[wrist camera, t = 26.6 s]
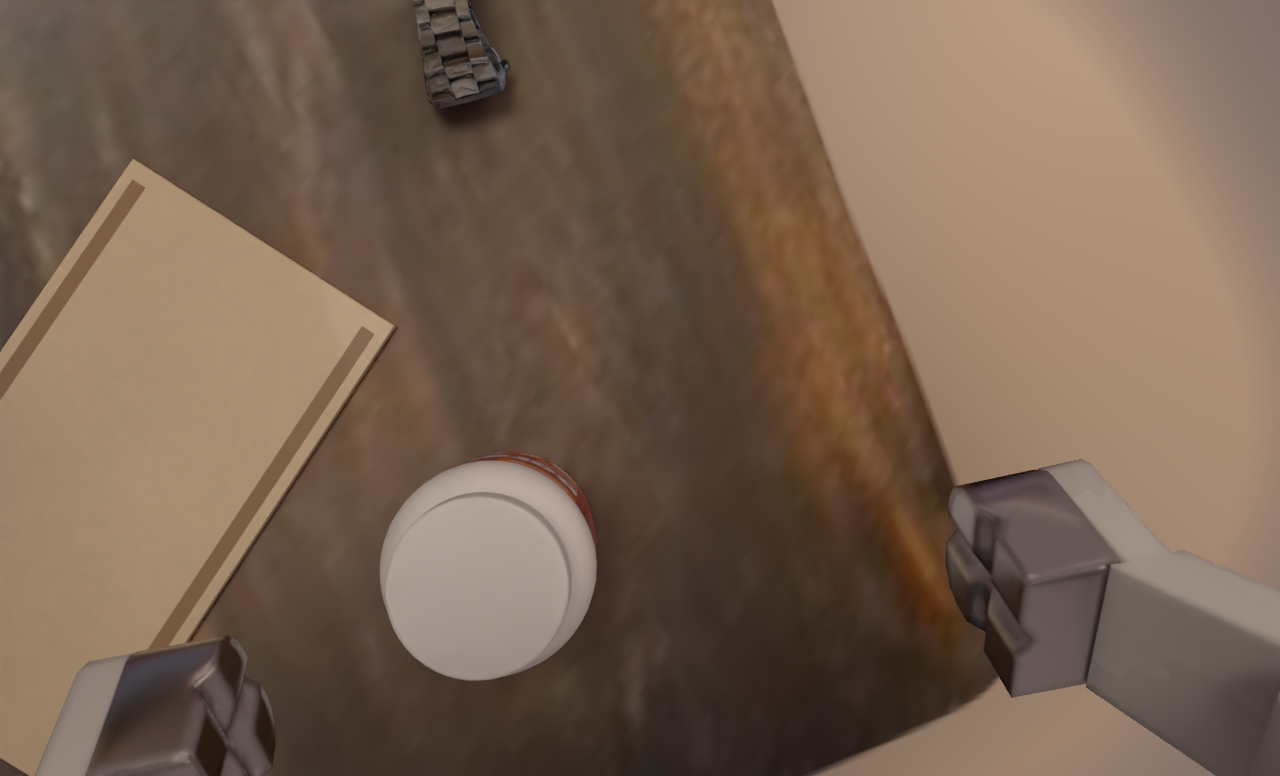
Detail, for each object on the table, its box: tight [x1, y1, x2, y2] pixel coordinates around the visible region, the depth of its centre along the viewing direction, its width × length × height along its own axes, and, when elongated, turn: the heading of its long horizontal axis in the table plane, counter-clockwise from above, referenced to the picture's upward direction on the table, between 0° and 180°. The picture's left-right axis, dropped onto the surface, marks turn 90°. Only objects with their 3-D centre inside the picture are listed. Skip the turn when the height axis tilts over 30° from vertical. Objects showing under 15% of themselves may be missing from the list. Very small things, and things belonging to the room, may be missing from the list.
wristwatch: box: [413, 0, 510, 109], centre depth 34 cm, size 3×5×5 cm
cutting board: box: [0, 159, 396, 776], centre depth 35 cm, size 20×11×1 cm, turn 147°
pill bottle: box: [380, 452, 597, 681], centre depth 30 cm, size 6×6×11 cm
